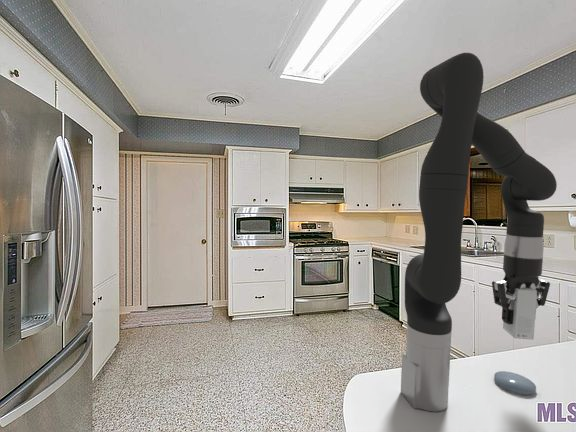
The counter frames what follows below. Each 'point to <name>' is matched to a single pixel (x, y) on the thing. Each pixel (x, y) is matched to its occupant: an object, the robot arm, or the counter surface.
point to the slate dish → (515, 383)
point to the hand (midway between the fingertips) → (518, 322)
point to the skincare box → (523, 314)
